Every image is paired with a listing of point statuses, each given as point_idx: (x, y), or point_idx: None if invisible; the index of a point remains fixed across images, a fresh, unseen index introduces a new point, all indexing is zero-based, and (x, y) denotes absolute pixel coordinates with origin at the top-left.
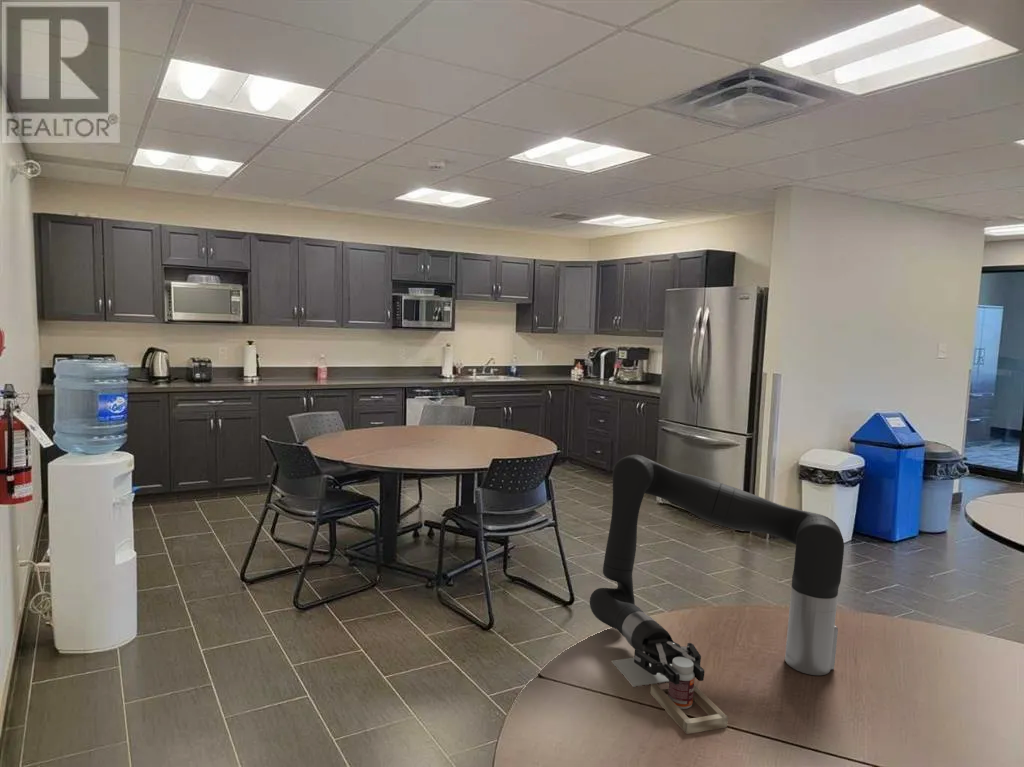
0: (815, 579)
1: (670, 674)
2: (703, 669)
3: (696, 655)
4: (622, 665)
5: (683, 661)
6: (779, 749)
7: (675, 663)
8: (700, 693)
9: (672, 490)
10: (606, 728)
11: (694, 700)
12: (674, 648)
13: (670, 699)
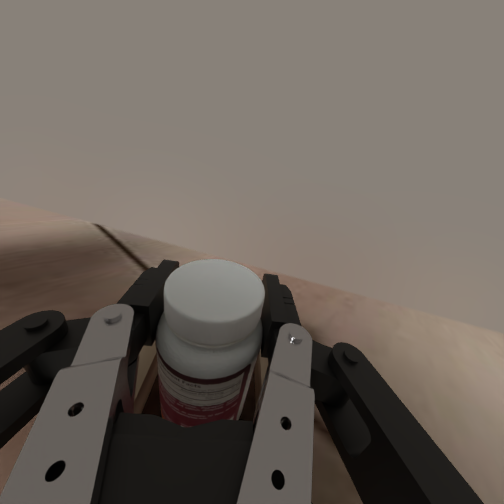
0: None
1: (290, 291)
2: (144, 273)
3: (31, 335)
4: None
5: (211, 285)
6: (153, 249)
7: (261, 284)
8: (144, 352)
9: None
10: (423, 362)
11: (151, 387)
12: (95, 464)
13: (261, 357)
